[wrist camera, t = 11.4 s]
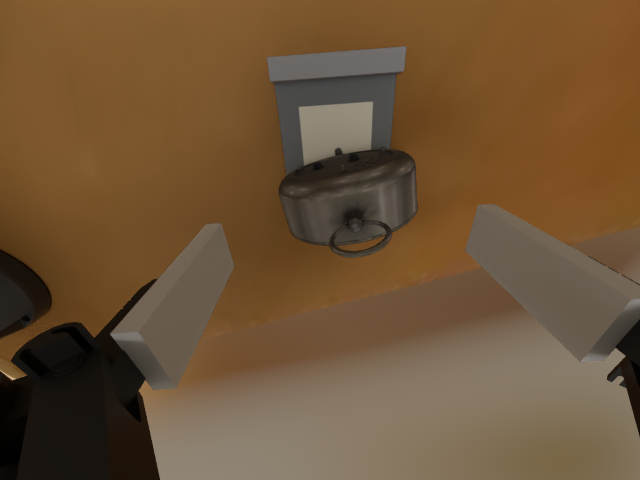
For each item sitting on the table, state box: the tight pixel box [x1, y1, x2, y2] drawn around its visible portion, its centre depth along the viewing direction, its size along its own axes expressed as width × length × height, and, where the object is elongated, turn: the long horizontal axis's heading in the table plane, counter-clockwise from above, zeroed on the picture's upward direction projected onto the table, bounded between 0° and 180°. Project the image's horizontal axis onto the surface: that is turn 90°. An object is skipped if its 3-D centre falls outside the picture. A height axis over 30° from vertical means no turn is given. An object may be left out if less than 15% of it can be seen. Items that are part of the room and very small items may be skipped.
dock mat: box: [267, 46, 406, 175], centre depth 24 cm, size 11×18×3 cm, turn 4°
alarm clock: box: [279, 147, 418, 258], centre depth 18 cm, size 11×5×16 cm, turn 102°
